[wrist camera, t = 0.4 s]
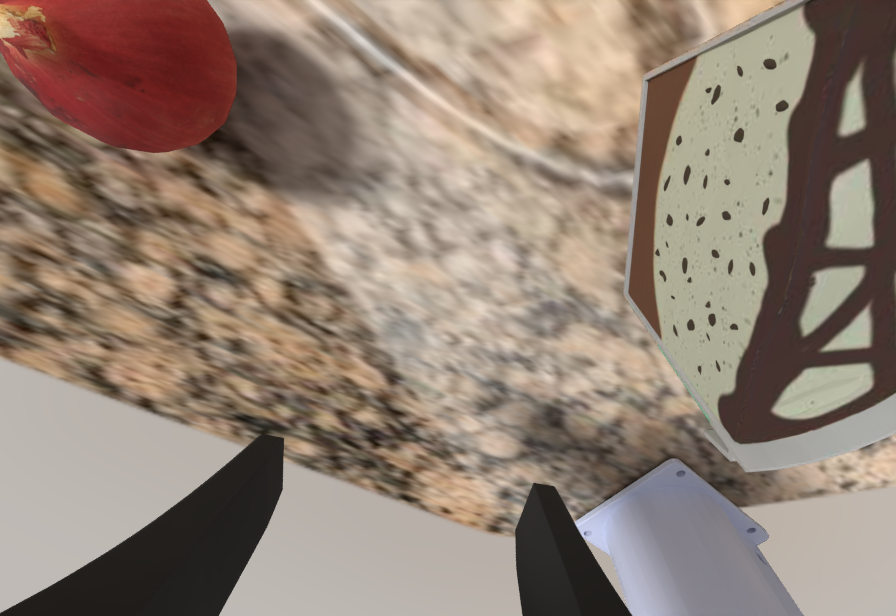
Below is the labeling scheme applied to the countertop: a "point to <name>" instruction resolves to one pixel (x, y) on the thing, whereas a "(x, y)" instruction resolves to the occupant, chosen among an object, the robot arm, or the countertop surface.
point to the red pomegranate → (124, 67)
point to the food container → (774, 229)
